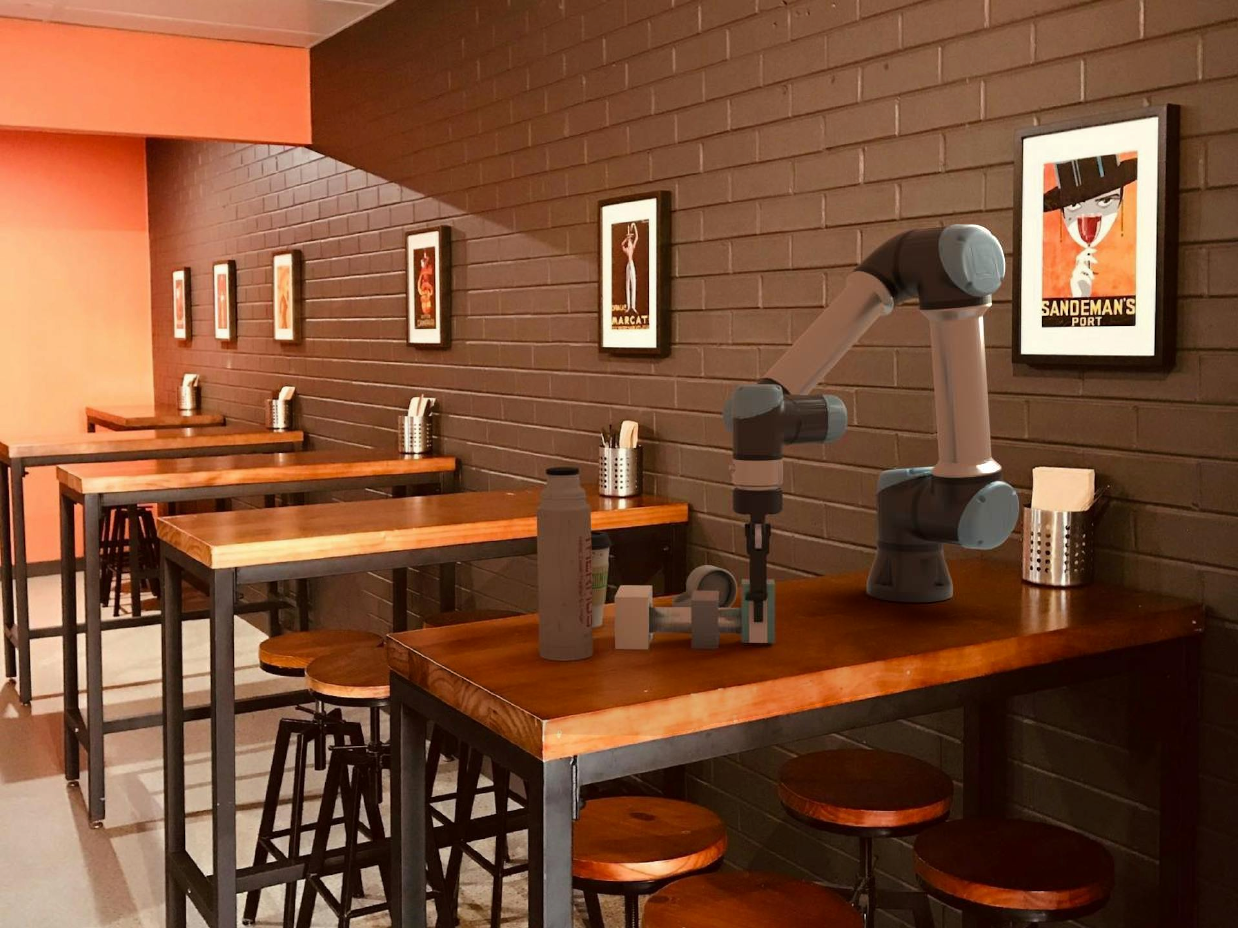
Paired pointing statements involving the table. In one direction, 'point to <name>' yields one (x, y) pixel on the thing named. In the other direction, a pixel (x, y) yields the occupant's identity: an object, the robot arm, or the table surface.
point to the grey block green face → (727, 617)
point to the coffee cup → (599, 573)
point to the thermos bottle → (564, 568)
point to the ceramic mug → (709, 586)
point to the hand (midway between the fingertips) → (758, 637)
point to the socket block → (632, 617)
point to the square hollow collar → (704, 619)
